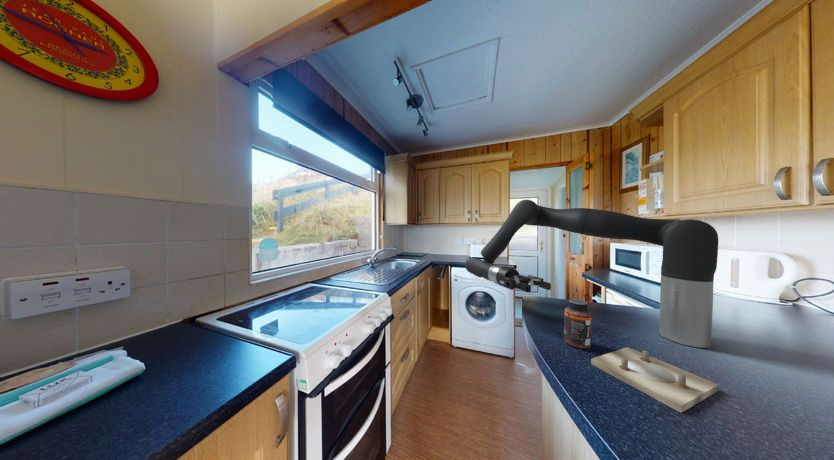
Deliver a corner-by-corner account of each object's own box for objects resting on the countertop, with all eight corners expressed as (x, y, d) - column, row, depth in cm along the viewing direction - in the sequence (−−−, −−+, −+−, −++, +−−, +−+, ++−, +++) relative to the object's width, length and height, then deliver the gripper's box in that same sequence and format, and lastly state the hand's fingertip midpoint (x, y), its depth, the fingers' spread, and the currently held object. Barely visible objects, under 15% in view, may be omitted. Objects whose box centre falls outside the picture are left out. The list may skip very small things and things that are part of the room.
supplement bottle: (596, 351, 56) (597, 306, 55) (569, 348, 57) (570, 304, 57) (583, 339, 62) (584, 298, 61) (559, 336, 63) (560, 297, 62)
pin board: (627, 351, 56) (627, 339, 56) (718, 390, 43) (718, 374, 42) (591, 364, 51) (591, 350, 50) (681, 413, 38) (681, 394, 37)
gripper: (488, 267, 82) (523, 278, 67) (517, 265, 87) (557, 274, 72) (487, 287, 82) (522, 302, 67) (517, 284, 87) (556, 297, 72)
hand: (540, 288), depth 69 cm, fingers open, 8 cm apart
